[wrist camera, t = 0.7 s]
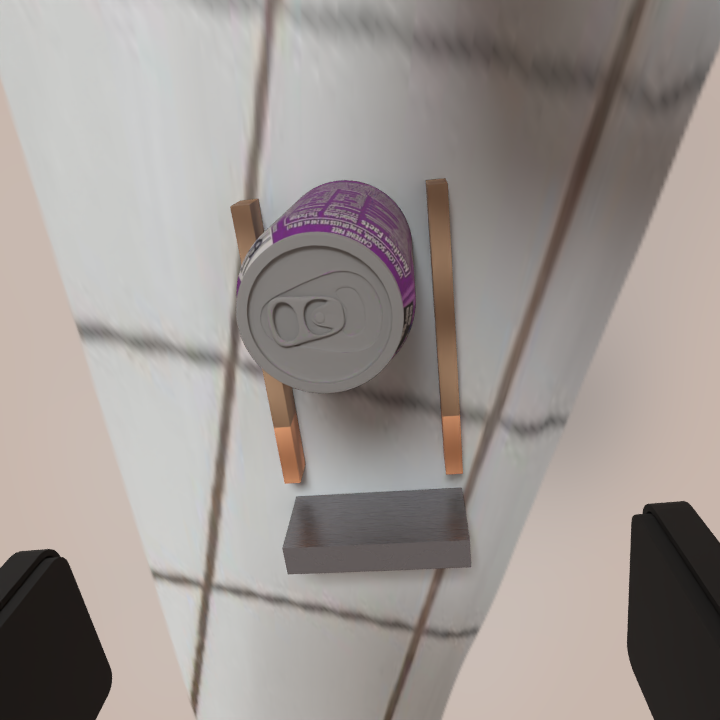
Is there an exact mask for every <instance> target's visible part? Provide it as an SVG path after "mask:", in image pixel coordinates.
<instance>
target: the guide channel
mask: <svg viewBox="0 0 720 720" xmlns="http://www.w3.org/2000/svg"><path fill="white" fill-rule="evenodd" d="M426 193H427V208H428V223H429V238H430V253H431V268H432V283H433V298H434V313H435V328H436V343H437V358H438V373H439V388H440V403H441V418H442V433H443V448H444V460H445V468H446V474H462V473H463V466H462V447H461V428H460V408H459V389H458V370H457V351H456V332H455V313H454V294H453V275H452V256H451V237H450V218H449V199H448V183H447V181H446V179H445V178H443V179H434V180H426ZM230 208H231V213H232V218H233V223H234V228H235V233H236V238H237V243H238V248H239V253H240V258H241V263H243V261H244V259H245V257H246V255H247V253H248V251H249V250H250V248H251V247H252V245H253V244H254V242H255V241H256V240H257V239H258V238H259V237H260V236H261V235H262V234H263V233H264V228H263V223H262V217H261V211H260V206H259V200H258V199H252V200H243V201H239V202H237V203H236V204H234V205H232V206H231V207H230ZM262 370H263V369H262ZM263 375H264V380H265V385H266V390H267V395H268V400H269V405H270V411H271V416H272V421H273V426H274V431H275V436H276V441H277V446H278V451H279V456H280V461H281V466H282V471H283V476H284V482H285V483H301V479H302V476H303V472H304V468H305V459H304V453H303V448H302V442H301V437H300V431H299V425H298V420H297V414H296V408H295V403H294V397H293V391H292V387H290V386H288V385H285V384H283V383H282V382H280V381H278V380H276V379H275V378H273V377H272V376H270V375H269V374H268V373H267V372H265V371H264V370H263ZM282 549H283V553H284V558H285V563H286V568H287V572H288V574H310V573H335V572H360V571H386V570H411V569H436V568H462V567H471V554H470V538H469V532H468V525H467V519H466V512H465V506H464V500H463V493H462V488H449V489H430V490H412V491H393V492H374V493H356V494H337V495H319V496H300V497H296V500H295V504H294V508H293V511H292V515H291V519H290V522H289V526H288V530H287V534H286V537H285V541H284V545H283V548H282Z"/></svg>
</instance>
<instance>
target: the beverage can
mask: <svg viewBox="0 0 720 720" xmlns="http://www.w3.org/2000/svg"><path fill="white" fill-rule="evenodd" d="M415 305H416V294H415V279H414V264H413V248H412V237H411V232H410V228H409V225H408V223H407V220H406V218H405V216H404V214H403V213H402V211H401V210H400V208H399V207H398V206H397V204H396V203H395V202H394V201H393V200H392V199H391V198H390V197H389V196H387V195H386V194H385V193H383V192H382V191H380V190H379V189H377V188H375V187H373V186H371V185H368V184H365V183H362V182H357V181H348V180H343V181H333V182H329V183H325V184H323V185H320V186H318V187H316V188H314V189H312V190H310V191H309V192H308V193H306V194H305V195H304V196H302V197H301V198H300V199H299V200H298V201H297V202H296V203H295V204H294V205H293V206H292V207H291V208H289V209H288V210H287V211H286V212H285V213H284V214H283V215H282V216H281V217H280V218H279V219H278V220H277V221H275V222H274V223H273V224H272V225H271V226H270V227H269V228H268V229H267V230H266V231H265V232H264V233H263V234H262V235H261V236H260V237H259V238H258V239H257V240H256V241H255V242H254V244H253V245H252V247H251V248H250V250H249V251H248V253H247V255H246V257H245V259H244V261H243V263H242V266H241V269H240V272H239V276H238V281H237V301H236V318H237V324H238V329H239V332H240V335H241V338H242V340H243V343H244V345H245V347H246V348H247V350H248V352H249V353H250V355H251V356H252V358H253V359H254V360H255V361H256V363H257V364H258V365H259V366H260V367H261V368H262V369H263V370H264V371H265V372H267V373H268V374H269V375H270V376H272V377H273V378H275V379H276V380H278V381H280V382H282V383H283V384H285V385H288V386H290V387H292V388H295V389H298V390H302V391H306V392H312V393H336V392H342V391H346V390H350V389H353V388H355V387H358V386H360V385H362V384H364V383H366V382H367V381H369V380H371V379H372V378H373V377H375V376H376V375H377V374H378V373H379V372H381V371H382V370H383V369H384V367H385V366H386V365H387V364H388V363H389V361H390V360H391V359H392V358H393V357H394V356H395V354H396V353H397V352H398V351H399V349H400V348H401V347H402V345H403V344H404V342H405V340H406V338H407V336H408V334H409V332H410V329H411V326H412V322H413V318H414V313H415Z"/></svg>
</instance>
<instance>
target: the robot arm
mask: <svg viewBox="0 0 720 720" xmlns="http://www.w3.org/2000/svg"><path fill="white" fill-rule="evenodd" d="M627 648H628V655H629V660H630V663H631V666H632V669H633V672H634V674H635V676H636V678H637V681H638V683H639V686H640V688H641V690H642V693H643V695H644V697H645V700H646V702H647V704H648V707H649V709H650V711H651V714H652V716H653V718H654V720H720V543H719V541H718V540H717V539H716V537H715V536H714V535H713V533H712V532H711V531H710V530H709V528H708V527H707V526H706V524H705V523H704V522H703V520H702V519H701V518H700V517H699V515H698V514H697V513H696V511H695V510H694V509H693V507H692V506H691V505H690V504H689V503H688V502H685V501H680V502H667V503H655V504H647V505H645V507H644V509H643V514H638V515H634V516H633V517H632V524H631V552H630V578H629V606H628V632H627ZM111 684H112V672H111V668H110V665H109V663H108V661H107V658H106V656H105V653H104V650H103V648H102V646H101V643H100V640H99V638H98V635H97V633H96V631H95V628H94V626H93V623H92V620H91V618H90V615H89V613H88V611H87V608H86V606H85V603H84V600H83V598H82V595H81V593H80V590H79V588H78V585H77V583H76V580H75V578H74V576H73V573H72V570H71V568H70V566H69V563H68V562H67V560H66V559H65V558H63V557H60V555H59V554H58V553H57V552H56V551H55V550H51V549H45V550H31V551H20V552H18V553H15V554H14V555H12V556H11V557H10V558H9V559H8V560H7V561H6V562H5V563H4V565H3V566H2V567H1V568H0V720H96V718H97V716H98V714H99V712H100V710H101V708H102V706H103V704H104V702H105V700H106V698H107V696H108V694H109V691H110V688H111Z"/></svg>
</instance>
